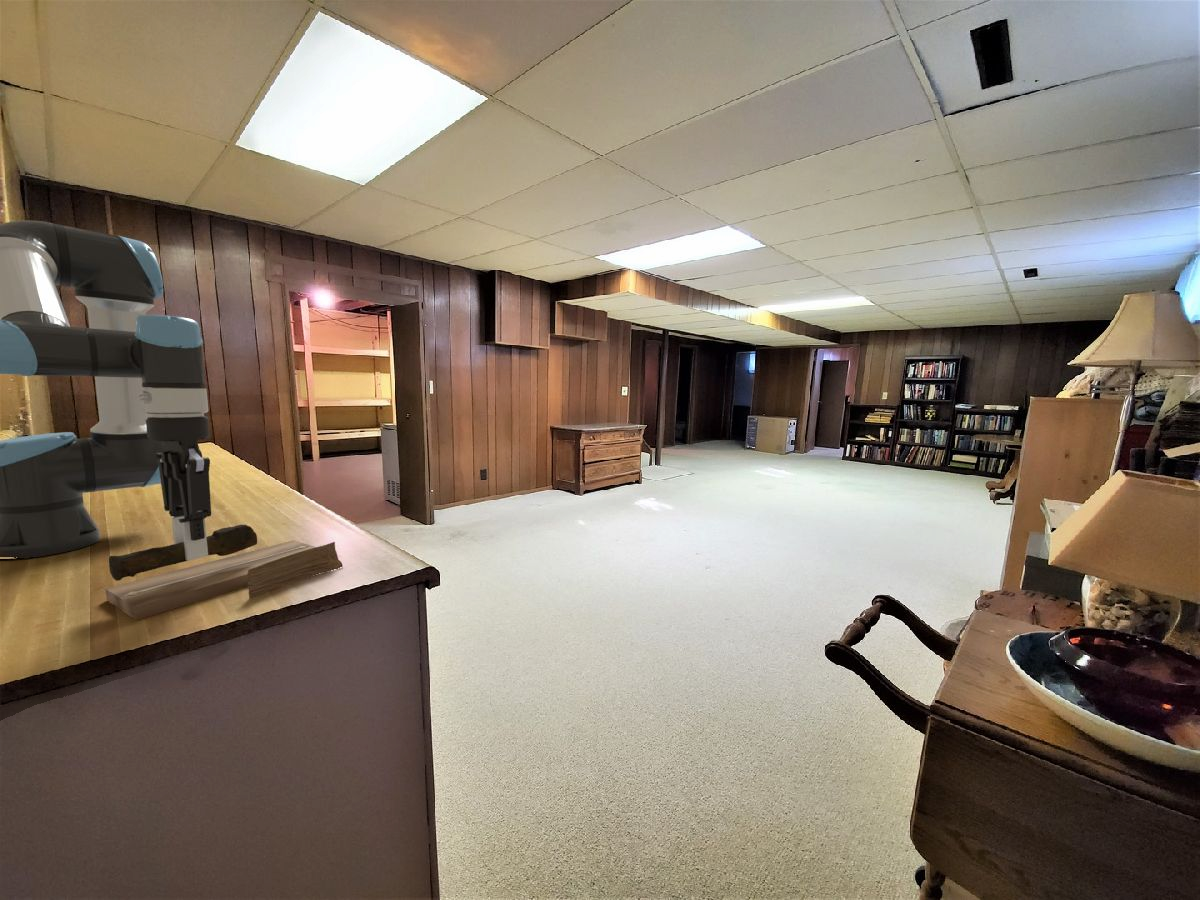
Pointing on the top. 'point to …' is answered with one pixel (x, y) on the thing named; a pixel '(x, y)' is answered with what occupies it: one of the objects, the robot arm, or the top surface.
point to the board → (194, 581)
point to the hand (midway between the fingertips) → (191, 555)
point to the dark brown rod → (181, 552)
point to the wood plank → (292, 569)
